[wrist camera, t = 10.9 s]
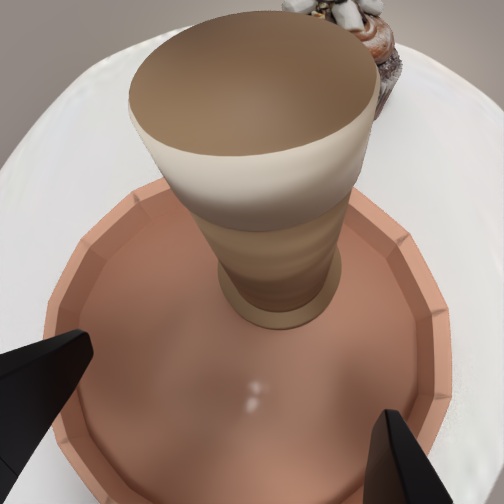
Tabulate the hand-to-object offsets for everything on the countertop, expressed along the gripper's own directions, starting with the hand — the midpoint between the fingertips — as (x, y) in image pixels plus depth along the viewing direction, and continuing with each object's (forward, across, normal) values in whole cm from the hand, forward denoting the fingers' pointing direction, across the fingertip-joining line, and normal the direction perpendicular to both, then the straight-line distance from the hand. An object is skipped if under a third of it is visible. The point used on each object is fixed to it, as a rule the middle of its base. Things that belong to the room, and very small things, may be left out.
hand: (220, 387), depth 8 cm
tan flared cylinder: (+10, 0, +1) cm, 10 cm away
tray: (+7, +1, +6) cm, 9 cm away
